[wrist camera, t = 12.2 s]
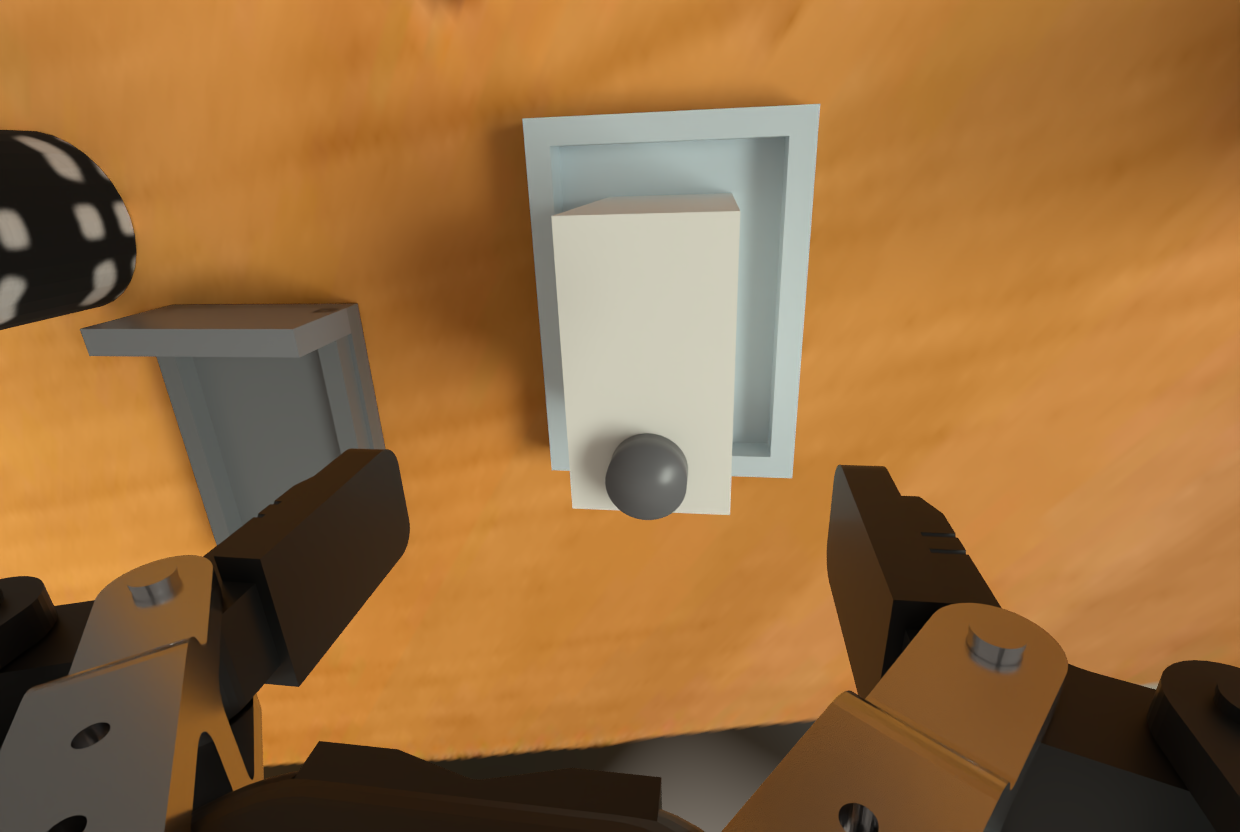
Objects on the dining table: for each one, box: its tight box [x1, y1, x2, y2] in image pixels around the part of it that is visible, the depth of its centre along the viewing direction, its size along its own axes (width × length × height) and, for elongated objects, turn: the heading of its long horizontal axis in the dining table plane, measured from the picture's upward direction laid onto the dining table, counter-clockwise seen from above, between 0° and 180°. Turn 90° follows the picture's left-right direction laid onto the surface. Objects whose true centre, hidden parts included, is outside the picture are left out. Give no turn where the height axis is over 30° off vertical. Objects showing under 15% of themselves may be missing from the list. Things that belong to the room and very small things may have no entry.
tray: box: [522, 104, 820, 478], centre depth 27 cm, size 15×11×2 cm
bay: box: [80, 304, 405, 552], centre depth 31 cm, size 14×10×5 cm
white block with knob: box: [551, 193, 740, 520], centre depth 22 cm, size 9×5×11 cm, turn 2°
